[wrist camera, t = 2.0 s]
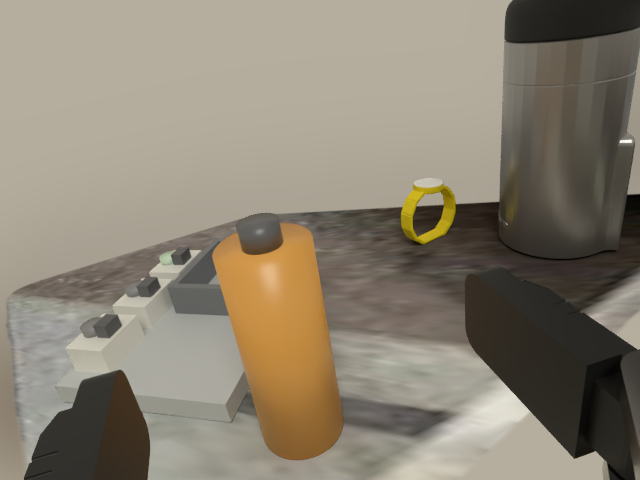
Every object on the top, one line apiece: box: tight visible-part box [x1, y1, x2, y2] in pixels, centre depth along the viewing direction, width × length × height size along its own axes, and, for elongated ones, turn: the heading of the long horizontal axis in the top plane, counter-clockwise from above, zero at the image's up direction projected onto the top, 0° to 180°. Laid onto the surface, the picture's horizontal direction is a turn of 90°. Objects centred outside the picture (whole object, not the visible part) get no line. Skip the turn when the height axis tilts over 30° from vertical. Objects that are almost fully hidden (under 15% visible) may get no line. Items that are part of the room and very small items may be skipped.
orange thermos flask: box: [212, 213, 344, 460], centre depth 24 cm, size 5×5×13 cm
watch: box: [401, 178, 456, 245], centre depth 44 cm, size 6×3×6 cm, turn 122°
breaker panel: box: [55, 238, 249, 422], centre depth 36 cm, size 13×17×4 cm
